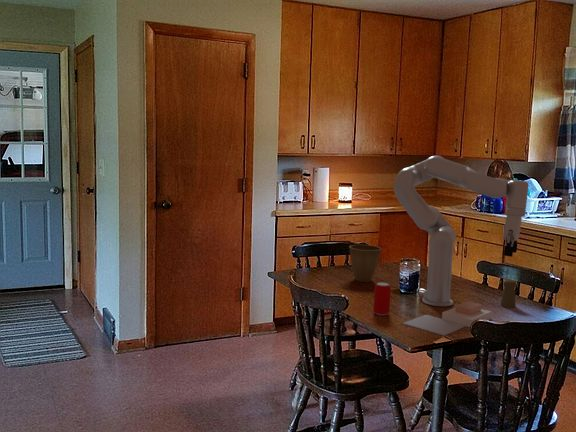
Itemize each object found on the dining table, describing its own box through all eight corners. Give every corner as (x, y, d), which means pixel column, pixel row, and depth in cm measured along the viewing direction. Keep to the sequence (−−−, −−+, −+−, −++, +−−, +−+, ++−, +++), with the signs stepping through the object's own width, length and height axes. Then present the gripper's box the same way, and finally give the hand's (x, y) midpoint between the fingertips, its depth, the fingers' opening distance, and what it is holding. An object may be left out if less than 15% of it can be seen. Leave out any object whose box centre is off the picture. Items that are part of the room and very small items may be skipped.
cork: (512, 309, 250) (514, 282, 248) (497, 305, 254) (500, 280, 252) (517, 306, 255) (520, 280, 253) (503, 303, 258) (505, 277, 257)
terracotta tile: (455, 311, 233) (455, 305, 233) (466, 307, 239) (467, 301, 239) (469, 315, 229) (470, 309, 228) (481, 310, 235) (481, 304, 235)
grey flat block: (441, 319, 232) (442, 312, 232) (462, 311, 244) (462, 304, 243) (471, 327, 224) (471, 319, 223) (490, 319, 235) (491, 311, 235)
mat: (402, 324, 225) (402, 323, 225) (425, 315, 237) (425, 314, 237) (443, 335, 214) (444, 334, 214) (466, 326, 225) (466, 325, 225)
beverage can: (387, 311, 240) (389, 282, 238) (390, 316, 234) (392, 286, 232) (372, 311, 240) (373, 281, 238) (374, 316, 234) (376, 285, 232)
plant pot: (371, 286, 279) (373, 251, 277) (342, 280, 287) (344, 247, 285) (384, 279, 292) (386, 246, 289) (356, 274, 299) (357, 242, 297)
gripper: (509, 208, 250) (504, 249, 252) (501, 212, 235) (496, 256, 237) (528, 210, 246) (523, 252, 249) (521, 215, 231) (516, 259, 234)
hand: (510, 254), depth 243 cm, fingers open, 9 cm apart
